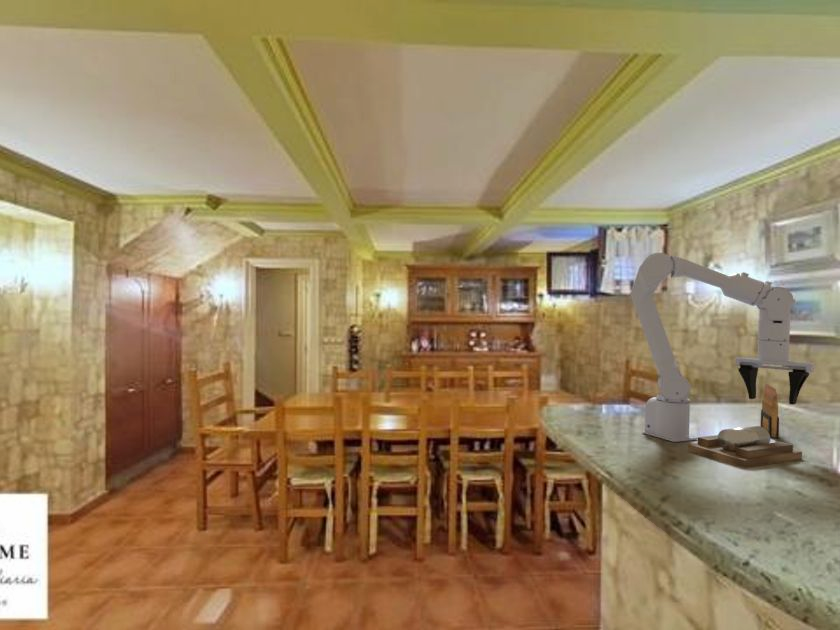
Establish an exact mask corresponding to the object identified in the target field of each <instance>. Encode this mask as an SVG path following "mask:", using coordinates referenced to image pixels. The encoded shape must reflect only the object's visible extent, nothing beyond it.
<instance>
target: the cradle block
mask: <svg viewBox="0 0 840 630" xmlns="http://www.w3.org/2000/svg"><path fill="white" fill-rule="evenodd" d="M697 437H698V436H697ZM688 452H690V453H692V452H693V454H696V453H697V454H696V455H699V454H700V456H702V455H703V457H706V458H710V459H713V460H717V461H718V462H719V461H720V462H722V463H726V464H730V465H733V466H735V467H739V468H742V469H747V468H753V467H759V466H766V465H773V464H778V463H785V462H791V461H798V460H802V459H803V451H800V450H797V449H794V444H792V443H787V442H784V441H777V442H776V441H775V442H769V443H767V444H759V445H752V446H744V447H737V448H736V451H726V450H724V449H723V448H722V447H721V446H720V445H719V442H718V434H716V435H707V436H706V435H704V436H699V437H698V439H697V443H690V444H688Z"/></svg>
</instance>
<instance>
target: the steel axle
mask: <svg viewBox="0 0 840 630" xmlns="http://www.w3.org/2000/svg"><path fill="white" fill-rule="evenodd" d="M717 435H718V442H719V445H720V446H721V447H722V448H723V449H724V450H726V451H736V448H737V447H744V446H752V445H759V444H767V443H771V438H770V435H769V433H768V431H767V430H766V429H765V428H763V427H761V426H760V425H751V426H746V427H745V426H744V427H736V428H726V429H722V430H720V431H719V433H718V434H717Z"/></svg>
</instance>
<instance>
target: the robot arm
mask: <svg viewBox="0 0 840 630" xmlns="http://www.w3.org/2000/svg"><path fill="white" fill-rule="evenodd" d="M668 276H670V278H671V279H674V278H682V277H685V278H689V279H692V280H695V281H698V282H701V283H705V284H707V285H710V286H714V287H716V288H719V289H720V290H721V291H722V294H723V296H725V297H727V298H730V299H733V300H735V301H737V302H740V303H744V304H746V305H748V306H752V307H756V308H757V309H758V311H759V314H758V315H759V318H758V325H757V327H758V330H757V331H758V332H757V334H758V335H757V339H758V340H757V358H755V357H753V358H752V357H734V366H735V367H739V368H737V369H738V373H739V374H740V376H741V377H742V380H743V382H744V384H745V387H746V391H747V394H748V400H754V399H756V398H757V377H758V371H759V369H770V370H783V371H788V379H789V380H788V381H789V396H788V404H789V405H797V401H798V398H799V395H800V392H801V389H802V387H803V386H804V383H805V382H806V380H807V379H808V378H809V375H810V373H814V372H815V362H805V361H795V360H790V334H791V332H790V331H791V328H790V327H791V321H790V320H791V319H790V311H791V309H792V308H793V307H794V305H795V303H796V299H795V298H794V295H793V294H792V292H790V290H789V289H787V288H786V287H783V286H772V281H768V280H767V281H765V282H764V281H761V280H759V279H755V278H753V277H751V276H750V274H749V273H747V272H745V271H743V272H741V273H738V272H734V273H731V274H729V275H727V274H724V273H722V272H719V271H716V270H715V269H713V268H709V267H706V266H704V265H701V264H699V263H696V262H693V261H691V260H689V259H686V258H683V257H679V256H676V255H670V256H669V255H667V254H666V253H664V252H655V253H654V252H653V253H651V254H649V255H647V257H646V258H645V260H644V261H642V263H641V264H640V266H639V268H638V270H637V272H636V276H635V279H634V282H633V285H632V288H631V291H630V297H631V300H632V302H633V305H634V308H635V312H636V314H637V317H638V320H639V323H640V325H641V328H642V331H643V334H644V336H645V339H646V342H647V345H648V348H649V350H650V354H651V357H652V359H653V361H654V365H655V369H656V372H657V382H656V383H657V388H658V389H659V390H660V392H659V393H658V394H657V395H656V396H654V397H651V398H649V399H648V400H647V401H646V404H645V408H644V430H641V433H642V434H645V435H649V436H652V437H656V438H660V439H663V440H667V441H670V442H674V443H677V442H686V441H694V440H695V441H696V440H697V441H698V436H694V435H691V434H690V416H691V414H690V413H691V409H690V408H691V399H689V398H688V397H689V395H690V393H691V389H692V388H691V383H690V382H689V380H688V379H687V378H686V377H685V376H684V375H683V374H682V372H681V370H680V367H679V365H678V362H677V360H676V358H675V355H674V352H673V349H672V347H671V345H670V342H669V339H668V335H667V333H666V331H665V327H664V325H663V321H662V319H661V316H660V314H659V311H658V308H657V306H656V302H655V300H654V298H653V296H654V294H655V292H656V291H657V289H658V288H659V285H660V284H661V283H662V282H663V281H664V280H665V279H667V277H668Z"/></svg>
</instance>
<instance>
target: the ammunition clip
mask: <svg viewBox="0 0 840 630" xmlns="http://www.w3.org/2000/svg"><path fill="white" fill-rule="evenodd" d="M759 426H761V427H763V428H765V429H766V430H767V431H768V433H769V435H770V439H779V438H780V437H779V435H780V417H779V403H778V393H777V389H776V388H774V387H772V386H771V385H770V384H767V383H765V385H764V387H763V394H762V401H761V409H760V425H759Z"/></svg>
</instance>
